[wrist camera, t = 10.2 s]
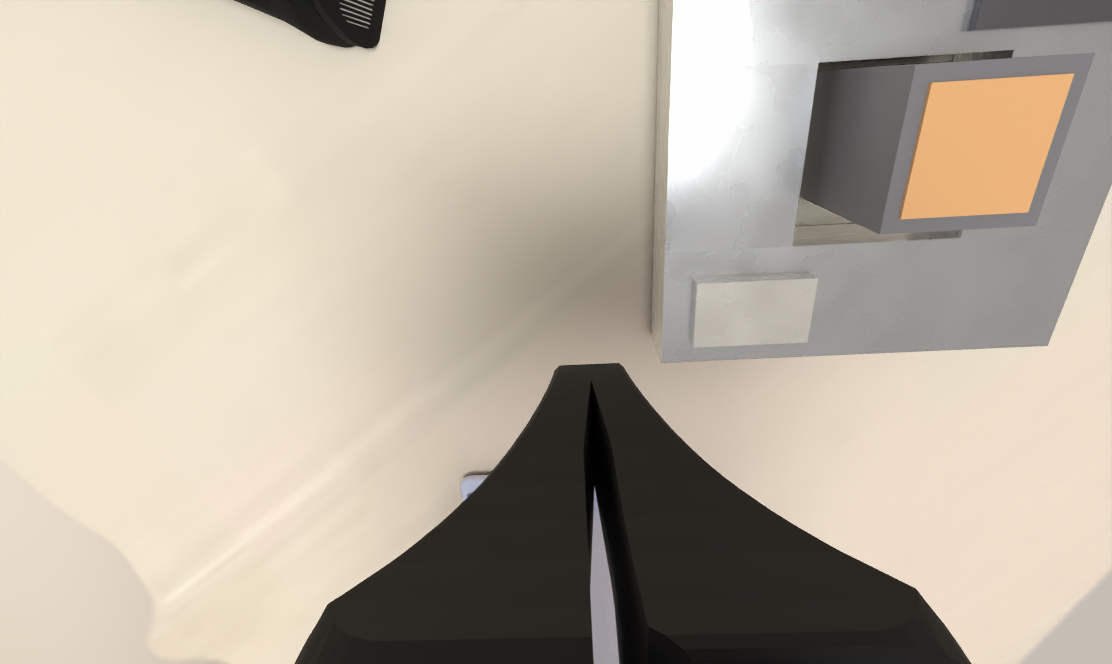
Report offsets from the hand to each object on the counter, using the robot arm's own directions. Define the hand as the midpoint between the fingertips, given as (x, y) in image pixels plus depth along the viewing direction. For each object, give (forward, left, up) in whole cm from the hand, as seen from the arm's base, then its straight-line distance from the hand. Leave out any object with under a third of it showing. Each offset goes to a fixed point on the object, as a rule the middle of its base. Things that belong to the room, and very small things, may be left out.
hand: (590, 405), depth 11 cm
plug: (+4, -10, -11) cm, 15 cm away
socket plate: (+3, -10, -10) cm, 15 cm away
